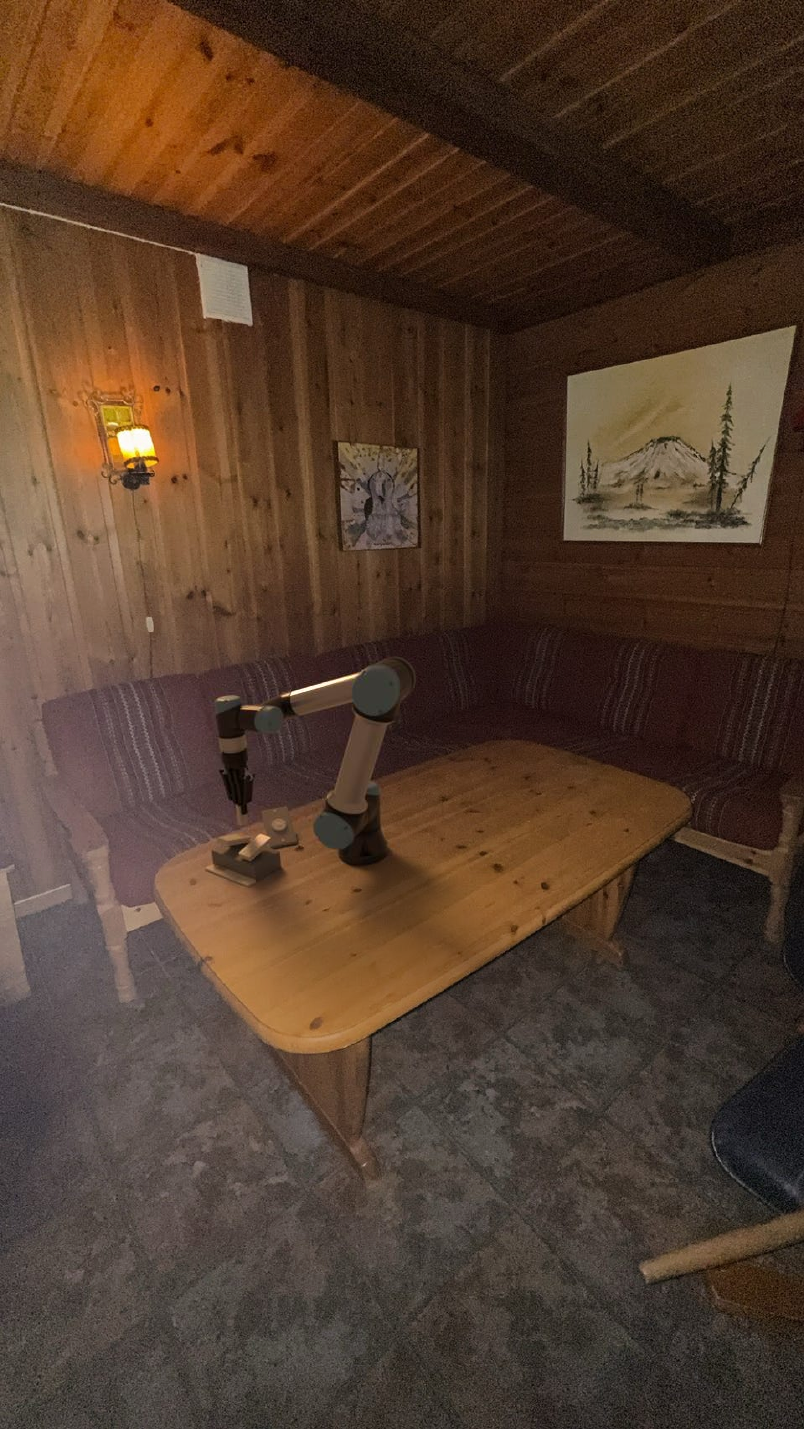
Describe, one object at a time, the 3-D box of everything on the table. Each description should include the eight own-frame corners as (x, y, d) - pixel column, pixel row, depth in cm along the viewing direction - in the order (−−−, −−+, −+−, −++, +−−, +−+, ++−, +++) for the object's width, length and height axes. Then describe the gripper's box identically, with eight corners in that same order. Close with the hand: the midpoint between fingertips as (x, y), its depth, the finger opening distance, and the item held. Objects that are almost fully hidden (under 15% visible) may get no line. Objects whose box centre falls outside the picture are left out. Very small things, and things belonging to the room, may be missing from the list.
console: (281, 866, 184) (279, 847, 182) (248, 887, 174) (246, 867, 172) (238, 851, 194) (236, 832, 192) (205, 869, 183) (202, 850, 181)
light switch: (270, 845, 193) (261, 808, 203) (270, 856, 197) (261, 819, 207) (297, 839, 196) (287, 804, 206) (296, 850, 200) (286, 815, 210)
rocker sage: (272, 841, 183) (270, 837, 182) (250, 861, 176) (249, 856, 176) (261, 837, 185) (259, 833, 184) (239, 857, 179) (238, 852, 178)
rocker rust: (250, 842, 188) (250, 836, 188) (227, 846, 180) (227, 840, 180) (239, 838, 190) (240, 833, 190) (216, 842, 183) (217, 837, 182)
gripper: (259, 748, 180) (267, 823, 186) (228, 742, 187) (237, 814, 193) (239, 756, 174) (249, 833, 180) (208, 749, 181) (218, 823, 187)
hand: (243, 823), depth 187 cm, fingers closed
